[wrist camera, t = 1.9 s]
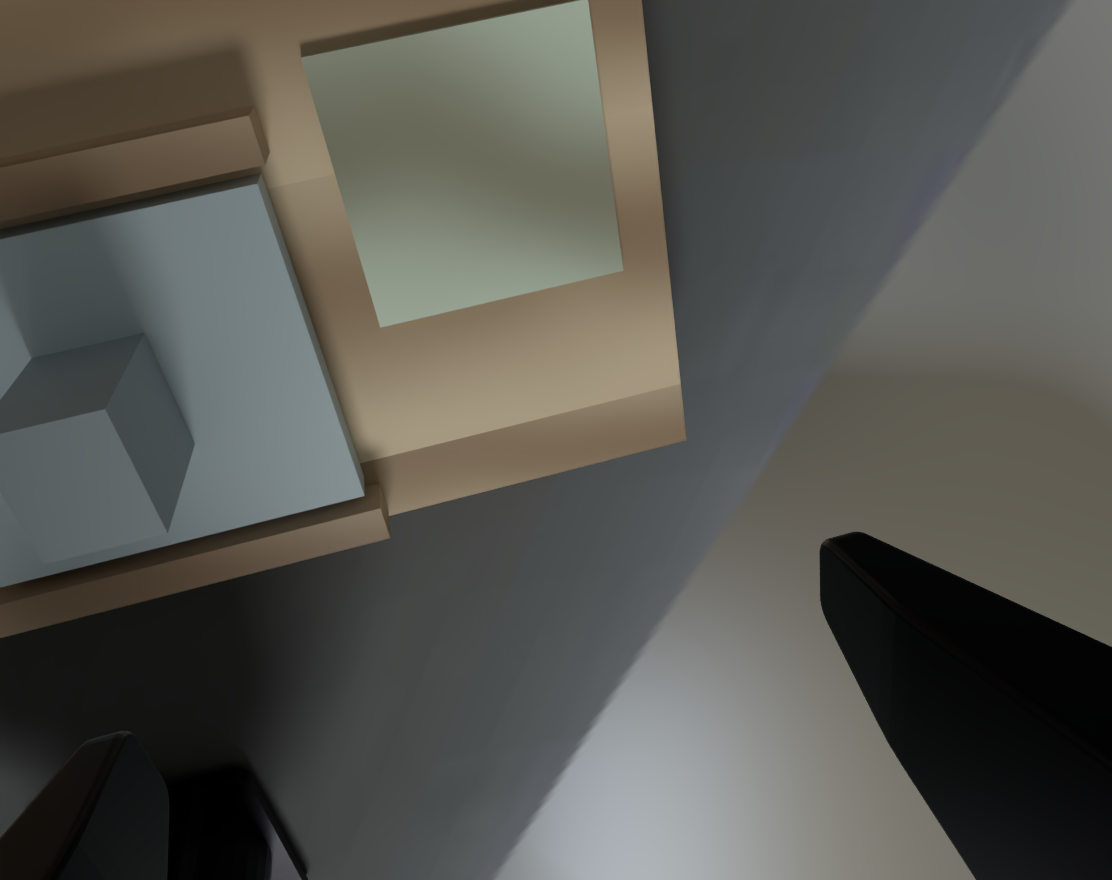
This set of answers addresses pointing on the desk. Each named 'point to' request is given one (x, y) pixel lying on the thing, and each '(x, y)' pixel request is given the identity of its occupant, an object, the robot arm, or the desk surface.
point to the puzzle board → (379, 230)
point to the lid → (158, 381)
